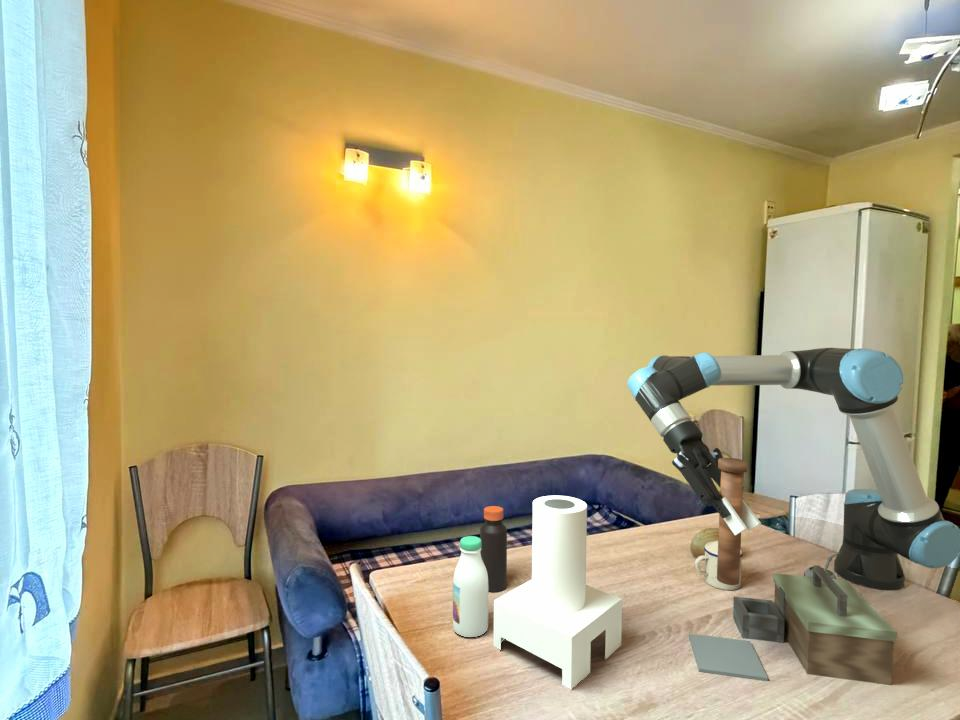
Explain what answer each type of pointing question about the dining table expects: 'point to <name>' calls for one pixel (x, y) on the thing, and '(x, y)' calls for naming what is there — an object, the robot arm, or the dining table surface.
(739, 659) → the rubber mat
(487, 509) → the vinegar
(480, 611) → the milk bottle
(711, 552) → the teacup with lid
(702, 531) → the bread roll
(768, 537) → the dining table surface
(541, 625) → the paper towel holder
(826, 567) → the mate gourd
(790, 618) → the toolbox
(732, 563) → the wooden pepper mill
